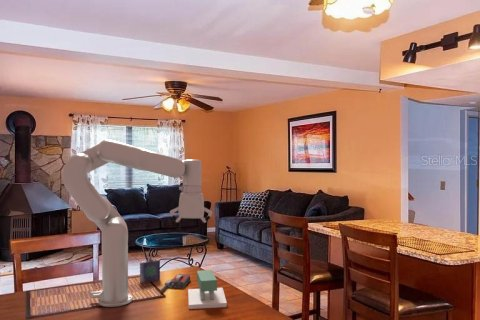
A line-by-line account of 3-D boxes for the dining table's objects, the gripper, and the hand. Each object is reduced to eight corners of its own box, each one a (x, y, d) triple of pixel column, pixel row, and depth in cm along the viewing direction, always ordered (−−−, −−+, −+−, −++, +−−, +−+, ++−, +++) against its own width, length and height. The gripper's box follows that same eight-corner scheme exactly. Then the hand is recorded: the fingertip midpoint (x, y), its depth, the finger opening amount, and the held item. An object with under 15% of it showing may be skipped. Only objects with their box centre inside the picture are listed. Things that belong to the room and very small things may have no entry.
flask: (141, 283, 182) (140, 259, 182) (138, 281, 185) (138, 257, 185) (160, 280, 187) (160, 256, 187) (158, 278, 190) (158, 255, 190)
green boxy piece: (201, 291, 154) (201, 281, 154) (196, 280, 168) (196, 270, 168) (217, 290, 155) (216, 279, 155) (211, 279, 169) (211, 269, 169)
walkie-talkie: (172, 279, 189) (158, 294, 169) (172, 270, 189) (158, 283, 169) (191, 280, 188) (179, 295, 168) (191, 270, 188) (179, 284, 168)
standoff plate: (188, 308, 152) (188, 294, 152) (188, 292, 169) (188, 279, 169) (226, 306, 153) (226, 292, 153) (222, 291, 171) (222, 277, 171)
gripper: (169, 190, 164) (168, 233, 164) (213, 191, 165) (212, 233, 165) (171, 188, 171) (170, 230, 171) (213, 189, 173) (211, 230, 173)
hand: (190, 231), depth 168 cm, fingers open, 9 cm apart
